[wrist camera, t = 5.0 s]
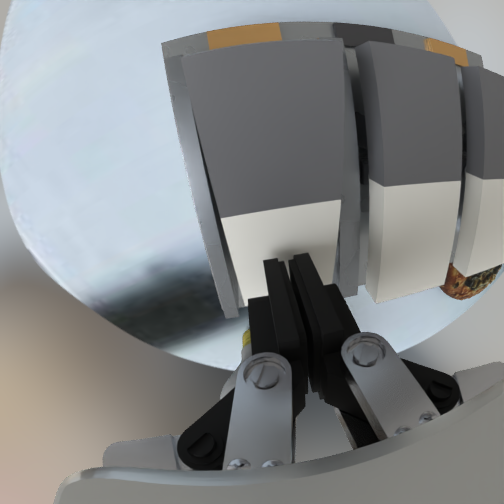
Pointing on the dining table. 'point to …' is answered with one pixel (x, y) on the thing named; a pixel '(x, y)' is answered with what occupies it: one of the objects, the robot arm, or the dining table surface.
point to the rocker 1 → (273, 150)
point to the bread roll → (467, 282)
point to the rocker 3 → (482, 173)
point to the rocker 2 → (410, 166)
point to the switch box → (355, 142)
